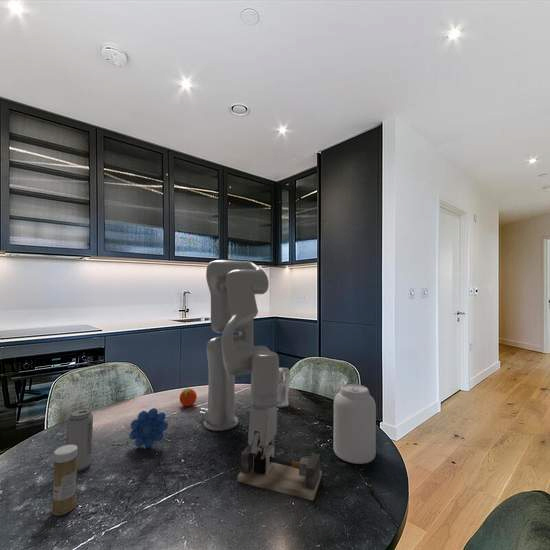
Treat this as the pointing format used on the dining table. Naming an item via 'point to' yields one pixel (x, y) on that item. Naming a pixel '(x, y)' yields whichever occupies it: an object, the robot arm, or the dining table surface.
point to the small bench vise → (284, 475)
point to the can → (354, 424)
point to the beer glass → (283, 386)
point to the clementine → (188, 397)
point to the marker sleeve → (267, 457)
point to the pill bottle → (64, 479)
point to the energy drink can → (81, 436)
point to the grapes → (148, 428)
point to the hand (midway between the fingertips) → (263, 465)
